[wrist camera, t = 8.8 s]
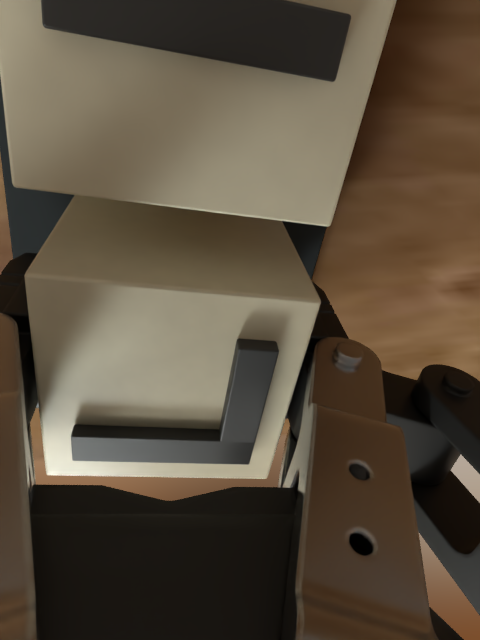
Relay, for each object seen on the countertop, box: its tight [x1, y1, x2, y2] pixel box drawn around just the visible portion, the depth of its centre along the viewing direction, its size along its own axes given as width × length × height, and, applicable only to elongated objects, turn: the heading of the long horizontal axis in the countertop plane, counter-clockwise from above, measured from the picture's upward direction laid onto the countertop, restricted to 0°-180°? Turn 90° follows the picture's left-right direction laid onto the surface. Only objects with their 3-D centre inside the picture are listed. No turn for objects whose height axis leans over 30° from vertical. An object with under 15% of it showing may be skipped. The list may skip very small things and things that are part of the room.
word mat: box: [0, 77, 327, 279], centre depth 9 cm, size 15×8×1 cm, turn 170°
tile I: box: [0, 0, 397, 226], centre depth 7 cm, size 5×5×5 cm
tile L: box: [24, 195, 321, 479], centre depth 10 cm, size 5×5×5 cm
